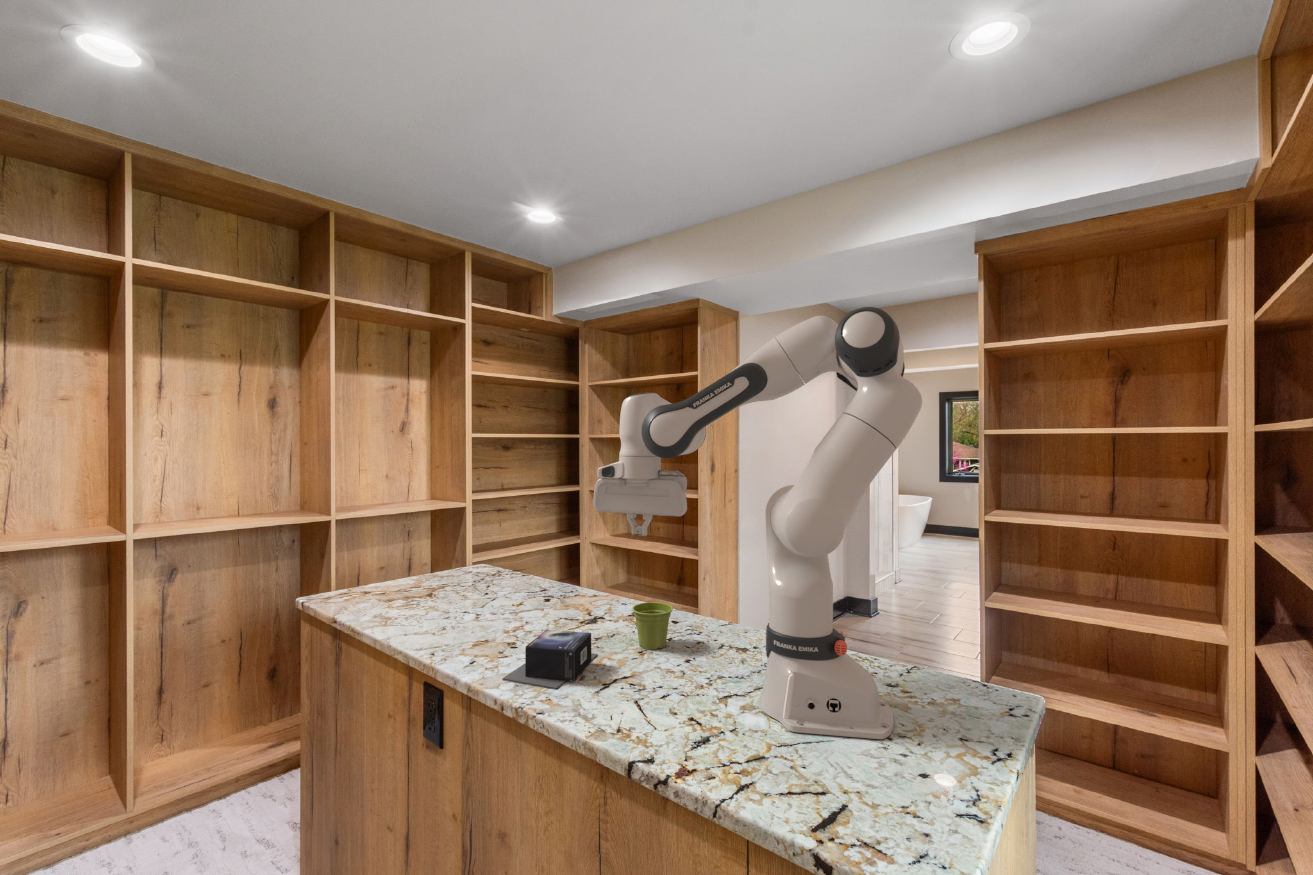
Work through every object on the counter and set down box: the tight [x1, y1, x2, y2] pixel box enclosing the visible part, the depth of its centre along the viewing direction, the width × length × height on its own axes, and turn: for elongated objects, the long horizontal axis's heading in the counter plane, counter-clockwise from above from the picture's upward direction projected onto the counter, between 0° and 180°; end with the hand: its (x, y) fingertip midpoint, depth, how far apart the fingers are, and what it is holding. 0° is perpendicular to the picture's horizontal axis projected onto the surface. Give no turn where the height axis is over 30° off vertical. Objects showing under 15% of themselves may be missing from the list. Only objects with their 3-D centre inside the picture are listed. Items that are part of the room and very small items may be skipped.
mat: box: [501, 652, 598, 690], centre depth 118 cm, size 12×18×1 cm, turn 160°
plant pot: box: [631, 601, 674, 651], centre depth 131 cm, size 9×9×9 cm
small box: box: [524, 629, 592, 682], centre depth 116 cm, size 11×6×10 cm
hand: (639, 535), depth 120 cm, fingers closed
